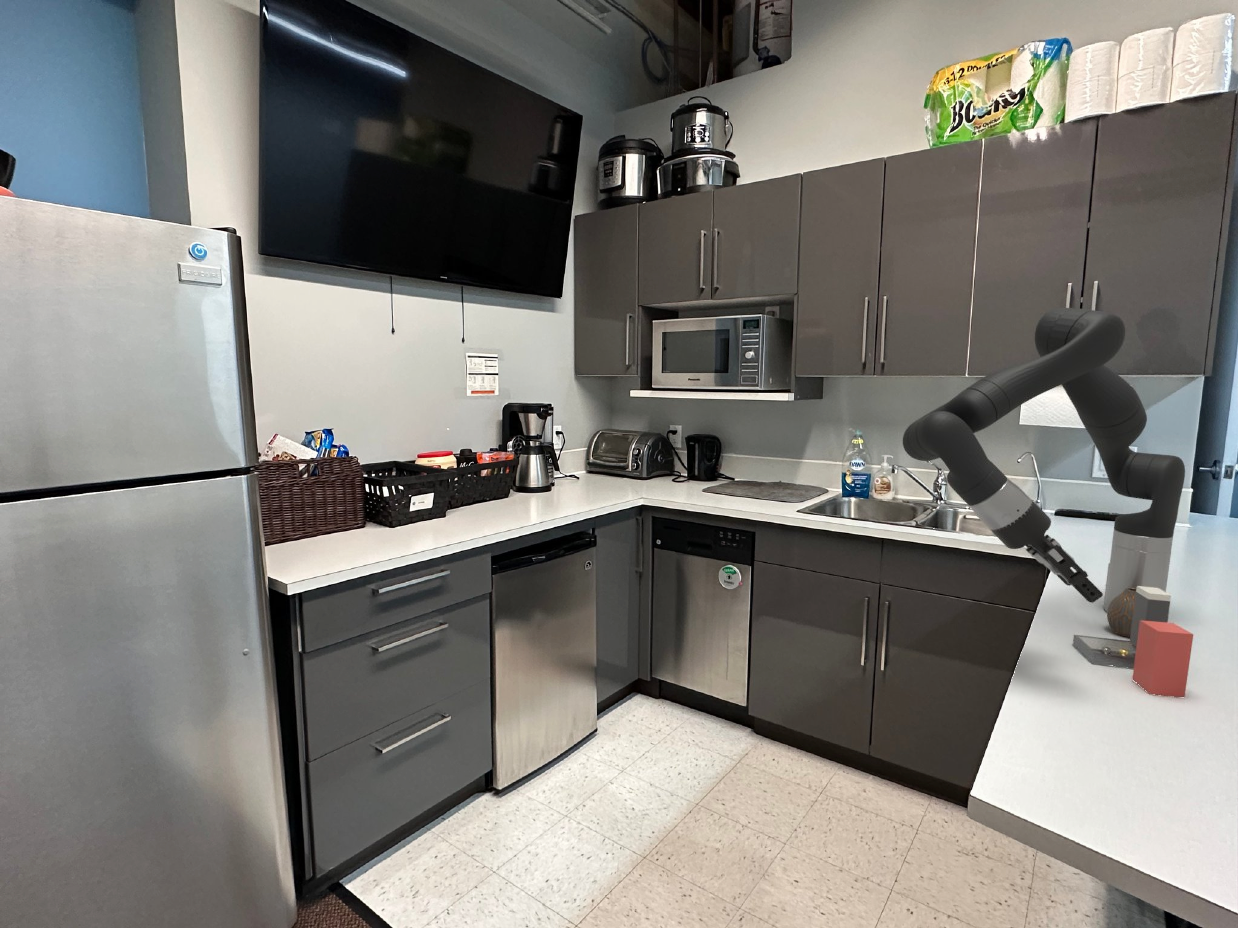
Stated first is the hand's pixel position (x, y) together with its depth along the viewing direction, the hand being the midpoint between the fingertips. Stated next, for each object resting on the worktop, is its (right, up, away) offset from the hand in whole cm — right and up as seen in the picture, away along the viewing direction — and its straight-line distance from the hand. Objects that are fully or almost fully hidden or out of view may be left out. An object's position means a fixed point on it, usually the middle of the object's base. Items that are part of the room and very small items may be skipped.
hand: (1084, 590), depth 97 cm
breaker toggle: (+16, -11, +8) cm, 22 cm away
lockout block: (+10, -15, -1) cm, 18 cm away
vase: (+23, -13, +20) cm, 34 cm away
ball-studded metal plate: (+14, -14, +9) cm, 22 cm away
